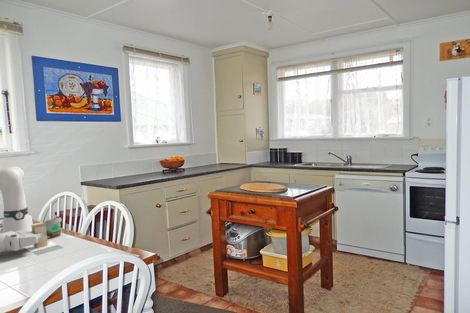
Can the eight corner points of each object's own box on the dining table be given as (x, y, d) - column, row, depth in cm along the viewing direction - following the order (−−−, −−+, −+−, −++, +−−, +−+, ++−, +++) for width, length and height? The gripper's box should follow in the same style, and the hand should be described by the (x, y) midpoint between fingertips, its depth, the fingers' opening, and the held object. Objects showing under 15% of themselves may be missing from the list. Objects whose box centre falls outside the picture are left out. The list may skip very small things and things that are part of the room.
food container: (52, 240, 181) (50, 222, 180) (42, 240, 182) (40, 222, 181) (68, 233, 193) (66, 215, 192) (58, 233, 194) (56, 215, 193)
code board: (24, 248, 171) (24, 247, 171) (49, 241, 180) (49, 240, 180) (37, 255, 158) (37, 255, 158) (64, 248, 167) (64, 247, 167)
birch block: (33, 245, 172) (31, 224, 171) (44, 243, 175) (42, 222, 174) (37, 247, 168) (34, 226, 167) (47, 244, 172) (45, 223, 171)
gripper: (4, 243, 169) (35, 235, 179) (17, 251, 155) (49, 242, 165) (2, 230, 169) (33, 223, 179) (15, 238, 155) (48, 230, 165)
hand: (41, 233), depth 172 cm, fingers closed on birch block, 5 cm apart
